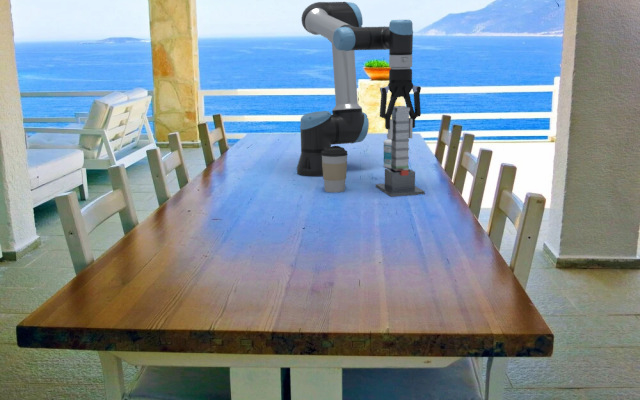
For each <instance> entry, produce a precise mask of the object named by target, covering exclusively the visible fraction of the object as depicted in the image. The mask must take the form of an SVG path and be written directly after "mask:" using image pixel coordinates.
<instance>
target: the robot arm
mask: <svg viewBox="0 0 640 400" xmlns="http://www.w3.org/2000/svg"><path fill="white" fill-rule="evenodd" d="M363 22H364V21H363V14H362V12H361V9H360V7H359V6H358V4H356V3H354V2H350V1H348V2H347V1H318V2H313V3H311V4H309V5H308V6H307V7H305V9H304V10H303V12H302V14H301V25H302V27H303V28H304V30H305V31H306V32H307V33H309V34H312V35H315V36H317V35H318V36H319V35H320V36H321V37H323V38H325V39H327V40H328V41H329V42H330V43H331V49H332V50H331V54H332V67H333V82H334V94H335V95H334V96H335V106H334V107H333V108H332V112H330V111H327V110H320V111H313V112H308V113H306V114H304V115H302V116H301V117H300V125H299V128H300V149H301V150H300V157H299V159H298V163H297V165H296V174H298V175H300V176H309V177H319V176H320V177H323V168H322V155H321V154H322V153H321V152H322V151H324V148H327V147H332V146H335V145H344V144H345V145H346V144H355V143H360V142H361V143H362V142H363V141H364V140H365V139H366V137H367V136H368V133H369V129H370V128H369V125H370V122H369V117H368V115H367V113H365V112H363V107H362V106H360V105H359V103H358V101H359V100H358V87H357V71H356V70H357V67H356V56H355V55H356V54H355V52H356V51H377V50H378V51H380V50H381V51H383V50H384V51H386V50H387V51H389V53H388V57H389V60H388V67H389V68H390V69H389V70H388V73H389V74H388V84H387V86H382V87H379V92H380V95H381V96H380V106H379V117H380V118H382V119H384V120H385V121H384V122H385V123H384V128H385V129H386V130H387V134H388V138H387V139H390V140H391V139H393V120H392V112H393V109H394V106H396V102H397V101H398V98H401V97H402V98H403V99H404V102H405V105H406V107H410V111H409V139H413V129H414V128H416V119H417V117H420V116H421V115H422V113H421V112H422V111H421V96H420V94H421V89H422V88H421V86H419V85H414V84H413V69H412V67H413V48H414V47H413V43H414V42H413V39H414V30H413V27H414V26H413V21H412V20H410V19H391V20H390V21H389V26H363ZM389 92H390V96H389V97H390V98H389V99H390V100H389V103H388V105H387V99H388V93H389ZM411 92H413V103H412V99H411V95H410V93H411ZM413 106H414V107H413Z"/></svg>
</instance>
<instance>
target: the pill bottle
mask: <svg viewBox="0 0 640 400" xmlns="http://www.w3.org/2000/svg"><path fill="white" fill-rule="evenodd" d="M386 137H387V138H386V139H384V140H383V167H384V168H385V169H391V164H392V158H391V155H392V149H391V146H392V140H390V139H388V133H387V134H386Z"/></svg>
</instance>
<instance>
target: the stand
mask: <svg viewBox="0 0 640 400" xmlns="http://www.w3.org/2000/svg"><path fill="white" fill-rule="evenodd" d="M375 188H377V189H379V191H381V192H383V193H384V194H386V195H387V196H389V197H407V196H418V194H422V195H425V194H426V191H425V190H423V189H421V188H419V187H417V186H416V171H415V170H413V169H410V168H408V170H400V171H394V170H392V169H391V168H384V183H375Z"/></svg>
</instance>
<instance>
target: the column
mask: <svg viewBox="0 0 640 400" xmlns="http://www.w3.org/2000/svg"><path fill="white" fill-rule="evenodd" d="M409 111H410V107H407V106H405V105H395V106H394V109H393V112H392V115H391V119H392V120H393V139H391V140H392V146H391V149H392V155H391V158H392V164H391V168H390V169H392V170H394V171H400V170H408V168H409V158H410V157H409V151H410V148H409V141H410V138H409V118H410V116H409ZM409 169H410V168H409Z"/></svg>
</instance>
